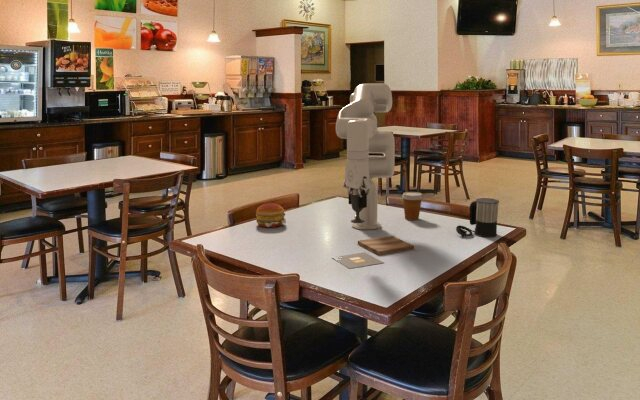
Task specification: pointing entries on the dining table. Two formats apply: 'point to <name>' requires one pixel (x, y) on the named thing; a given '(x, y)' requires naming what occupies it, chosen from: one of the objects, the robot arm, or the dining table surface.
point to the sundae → (355, 205)
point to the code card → (358, 260)
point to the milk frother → (482, 218)
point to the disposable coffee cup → (412, 205)
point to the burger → (270, 215)
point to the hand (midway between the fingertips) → (357, 205)
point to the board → (385, 245)
